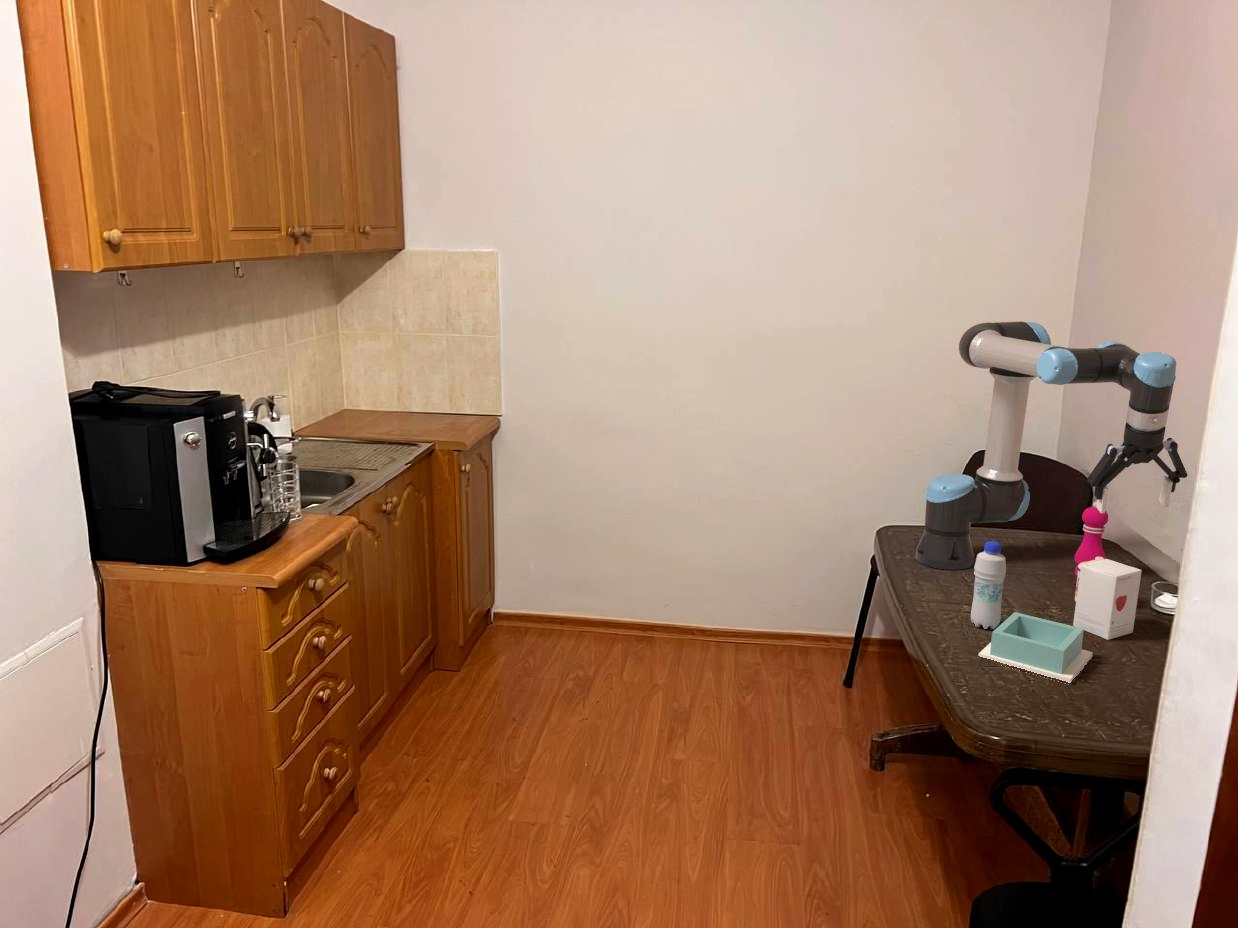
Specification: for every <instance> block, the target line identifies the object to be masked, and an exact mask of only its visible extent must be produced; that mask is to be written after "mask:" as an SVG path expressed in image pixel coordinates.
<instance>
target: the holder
mask: <svg viewBox="0 0 1238 928" xmlns="http://www.w3.org/2000/svg"><path fill="white" fill-rule="evenodd" d="M1084 632H1085V630H1084V629H1082V628H1078V627H1075V626H1073V625H1069V624H1066V623H1060V622H1058V621H1057V622H1056V621H1054V620H1049V619H1044V618H1040V617H1036V616H1032V615H1028V614H1026V613H1025V614H1024V613H1021V612H1016V611H1015V612H1013V613H1012V614H1011V615H1010V616H1009V617H1007V618H1006V619H1005V620H1004V621H1003V622H1001V623H1000V624H999V625H998V626H997V627H996V628H995V629H993V631H992V632H991V639H990V642H989V643H988V644H987V645H986V646H985V647H984V648H982V650H981V651H980V652H979V653H978V655H977V656H980V657H983V658H987V659H991V660H994V661H997V662H1000V663H1003V664H1007V665H1009V666H1014V667H1017V668H1021V669H1025V670H1027V671H1031V672H1034V673H1037V674H1041V675H1044V676H1047V677H1051V678H1056V679H1059V680H1062V681H1066V682H1068V683H1071V682H1072V680H1073V679H1074V678H1075V677H1076V676H1077V677H1078V676H1079V674H1080V673H1081V672H1082V671H1083V669H1084V668H1085V667H1086V666H1085V665H1087V664H1088V663H1089V662H1090V661H1091V660H1092V658H1093V655H1094V652H1093V651H1090V650H1086V649H1083V648H1082V647H1083V639H1084V638H1083V637H1084ZM1089 660H1090V661H1089ZM1088 661H1089V662H1088ZM1087 662H1088V663H1087ZM1084 666H1085V667H1084ZM1080 671H1081V672H1080ZM1077 677H1076V678H1077ZM1076 678H1075V679H1076ZM1075 679H1074V680H1075ZM1074 680H1073V681H1074ZM1072 683H1073V682H1072ZM1072 683H1071V684H1072Z"/></svg>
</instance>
